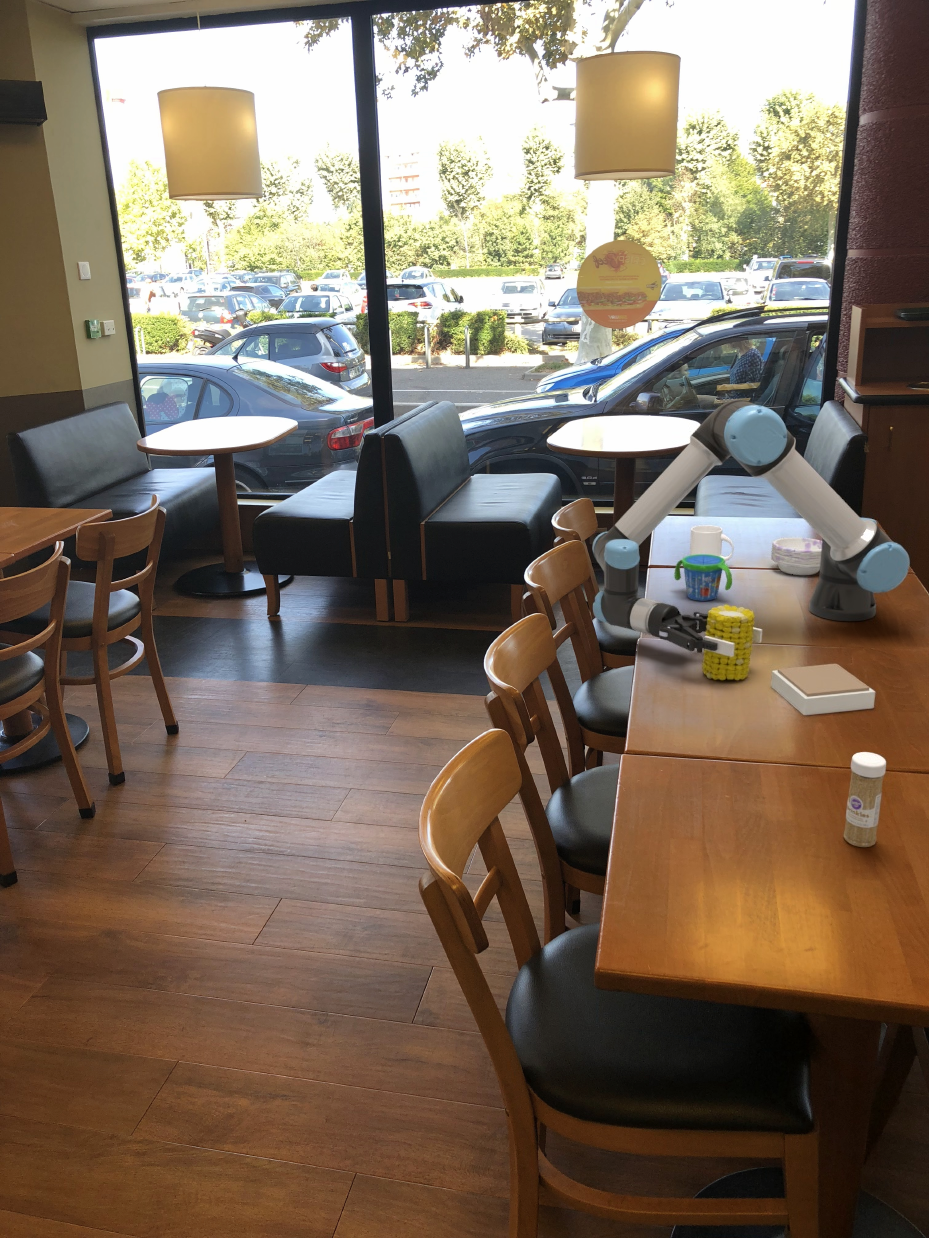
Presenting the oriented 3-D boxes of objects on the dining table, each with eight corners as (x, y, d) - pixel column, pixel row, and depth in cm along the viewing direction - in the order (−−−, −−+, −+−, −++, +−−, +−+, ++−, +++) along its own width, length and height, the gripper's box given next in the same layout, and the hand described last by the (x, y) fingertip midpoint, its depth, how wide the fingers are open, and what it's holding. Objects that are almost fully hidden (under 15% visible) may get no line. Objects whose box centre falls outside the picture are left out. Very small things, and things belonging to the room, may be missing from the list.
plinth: (836, 679, 197) (837, 661, 196) (873, 708, 184) (875, 688, 183) (770, 686, 195) (772, 668, 194) (803, 715, 182) (805, 695, 181)
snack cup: (664, 595, 252) (665, 557, 249) (690, 586, 258) (691, 549, 255) (714, 609, 241) (716, 569, 237) (739, 599, 247) (742, 561, 243)
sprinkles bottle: (838, 841, 142) (847, 759, 138) (849, 828, 145) (858, 747, 141) (870, 852, 139) (880, 768, 135) (881, 838, 143) (891, 756, 138)
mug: (729, 572, 269) (731, 534, 266) (686, 568, 274) (687, 531, 271) (735, 563, 277) (737, 527, 273) (693, 560, 282) (695, 524, 278)
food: (695, 683, 202) (721, 671, 208) (745, 686, 193) (771, 673, 200) (685, 612, 200) (712, 602, 206) (735, 611, 191) (762, 601, 198)
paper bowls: (834, 567, 270) (836, 539, 267) (820, 581, 258) (823, 553, 255) (778, 560, 278) (780, 533, 275) (763, 574, 266) (765, 546, 263)
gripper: (685, 622, 220) (774, 645, 205) (624, 649, 206) (715, 676, 190) (686, 590, 218) (777, 611, 202) (625, 615, 203) (717, 640, 188)
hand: (747, 643), depth 196 cm, fingers closed on food, 10 cm apart
